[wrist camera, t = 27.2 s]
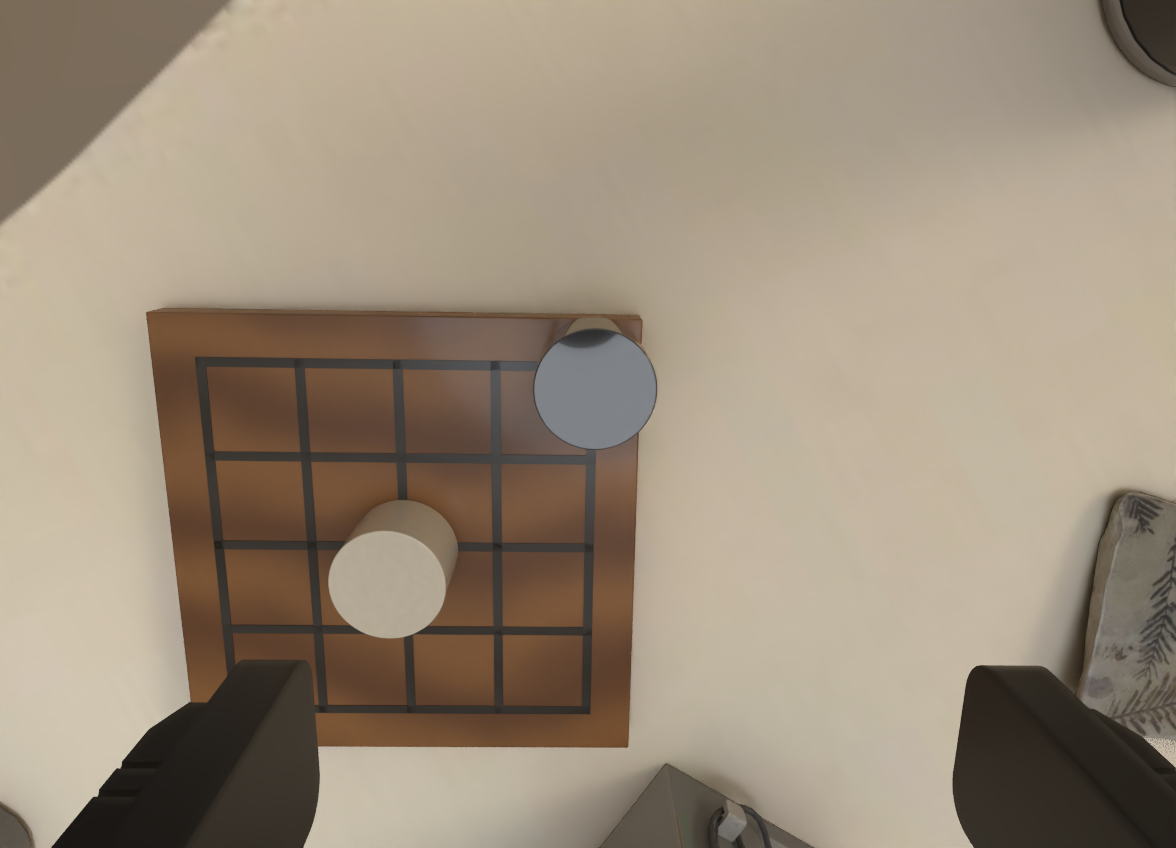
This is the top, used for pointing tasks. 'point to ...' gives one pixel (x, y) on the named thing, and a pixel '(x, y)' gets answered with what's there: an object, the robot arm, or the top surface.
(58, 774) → the top surface
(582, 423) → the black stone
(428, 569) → the ivory stone
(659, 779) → the portable television
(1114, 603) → the fossil rock
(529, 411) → the board
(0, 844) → the flask
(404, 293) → the top surface
